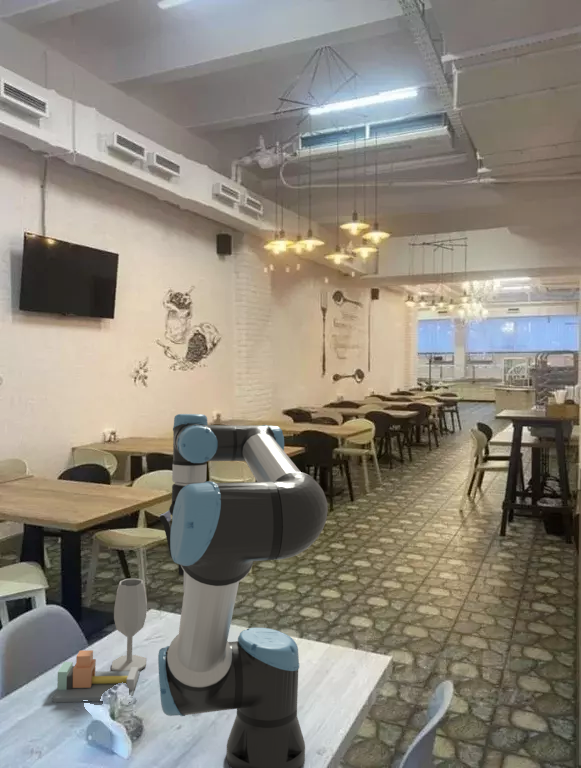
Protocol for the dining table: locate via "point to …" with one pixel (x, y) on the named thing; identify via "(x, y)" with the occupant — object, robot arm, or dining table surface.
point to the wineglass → (130, 620)
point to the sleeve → (84, 669)
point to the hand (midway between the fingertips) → (186, 589)
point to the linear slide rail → (99, 684)
